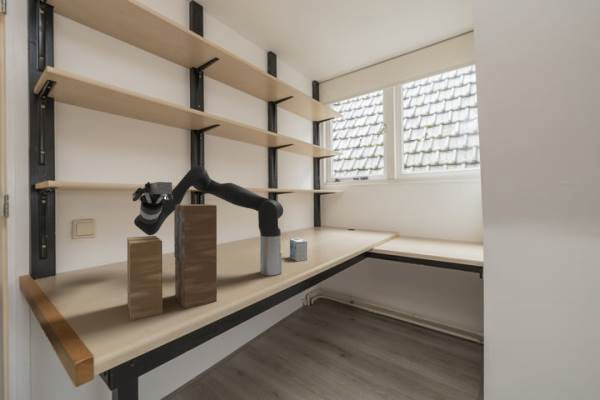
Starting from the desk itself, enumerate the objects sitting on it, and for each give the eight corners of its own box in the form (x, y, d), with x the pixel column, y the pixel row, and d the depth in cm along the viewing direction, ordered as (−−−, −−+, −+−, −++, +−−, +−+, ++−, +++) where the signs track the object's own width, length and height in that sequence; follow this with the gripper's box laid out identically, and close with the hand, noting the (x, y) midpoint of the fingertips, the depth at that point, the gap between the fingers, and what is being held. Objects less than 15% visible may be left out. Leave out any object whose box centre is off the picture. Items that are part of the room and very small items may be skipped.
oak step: (127, 303, 84) (127, 237, 83) (155, 298, 88) (155, 235, 88) (130, 320, 72) (130, 244, 72) (162, 312, 77) (162, 241, 77)
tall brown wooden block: (173, 295, 91) (173, 204, 91) (204, 289, 97) (204, 204, 97) (182, 309, 80) (182, 205, 79) (216, 301, 86) (216, 205, 86)
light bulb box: (289, 257, 150) (289, 238, 149) (299, 256, 152) (300, 237, 152) (296, 261, 140) (296, 241, 140) (307, 260, 142) (307, 240, 142)
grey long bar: (148, 193, 93) (148, 183, 93) (160, 193, 96) (160, 184, 96) (156, 193, 76) (157, 181, 75) (172, 194, 78) (172, 182, 78)
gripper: (129, 198, 100) (132, 174, 88) (170, 198, 109) (177, 176, 96) (130, 216, 97) (132, 193, 85) (171, 214, 106) (179, 193, 94)
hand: (156, 184), depth 91 cm, fingers closed on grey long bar, 4 cm apart
